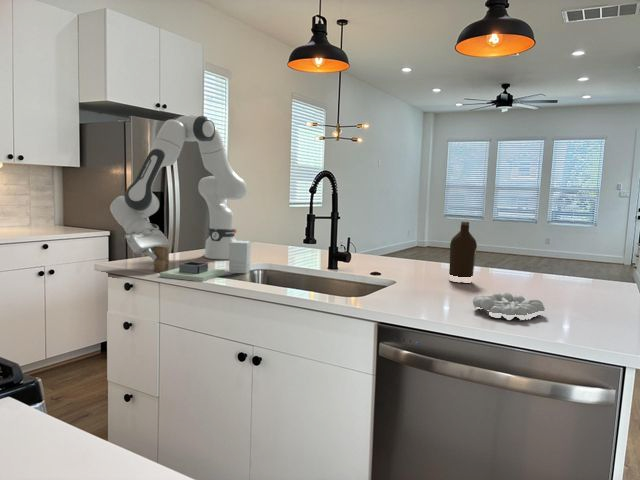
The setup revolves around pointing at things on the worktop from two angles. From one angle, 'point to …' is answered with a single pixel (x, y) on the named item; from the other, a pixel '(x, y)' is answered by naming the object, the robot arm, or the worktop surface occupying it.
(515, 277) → the worktop surface
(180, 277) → the jar plate
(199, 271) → the dark grey square tray
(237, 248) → the supplement box
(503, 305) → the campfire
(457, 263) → the olive oil
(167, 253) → the brown wooden block
